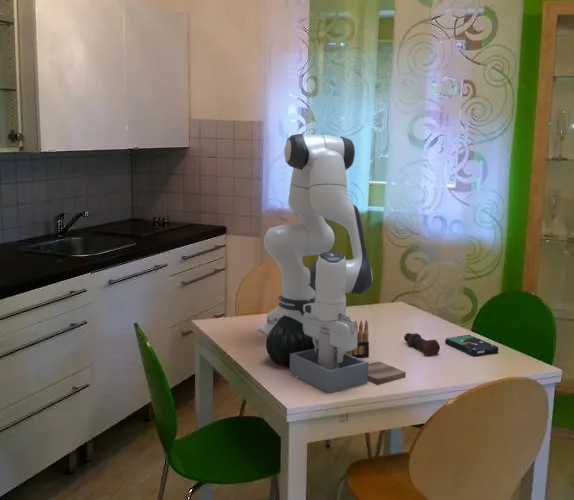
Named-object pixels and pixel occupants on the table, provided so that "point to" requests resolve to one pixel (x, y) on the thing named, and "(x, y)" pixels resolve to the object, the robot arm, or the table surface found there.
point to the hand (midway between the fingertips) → (328, 357)
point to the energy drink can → (326, 351)
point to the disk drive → (472, 345)
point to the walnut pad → (383, 373)
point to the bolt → (423, 344)
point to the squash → (287, 340)
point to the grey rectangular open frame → (329, 371)
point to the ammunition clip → (361, 342)
